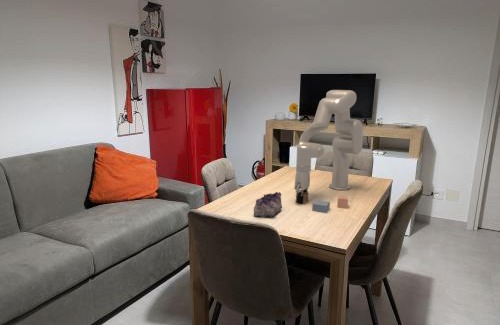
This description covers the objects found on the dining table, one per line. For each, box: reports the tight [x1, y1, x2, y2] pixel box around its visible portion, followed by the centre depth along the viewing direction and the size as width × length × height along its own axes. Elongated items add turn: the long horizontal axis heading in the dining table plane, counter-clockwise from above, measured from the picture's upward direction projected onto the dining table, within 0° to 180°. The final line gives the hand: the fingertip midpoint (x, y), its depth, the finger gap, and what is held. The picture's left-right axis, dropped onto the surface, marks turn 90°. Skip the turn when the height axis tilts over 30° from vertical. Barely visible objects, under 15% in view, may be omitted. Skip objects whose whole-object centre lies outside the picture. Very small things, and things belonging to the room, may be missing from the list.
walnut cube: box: [295, 191, 310, 205], centre depth 190 cm, size 5×5×5 cm
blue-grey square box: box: [311, 199, 331, 214], centre depth 179 cm, size 7×7×4 cm
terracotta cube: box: [336, 195, 349, 210], centre depth 184 cm, size 5×5×5 cm
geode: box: [253, 191, 283, 218], centre depth 175 cm, size 20×12×10 cm, turn 155°
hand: (302, 200), depth 191 cm, fingers closed on walnut cube, 5 cm apart
